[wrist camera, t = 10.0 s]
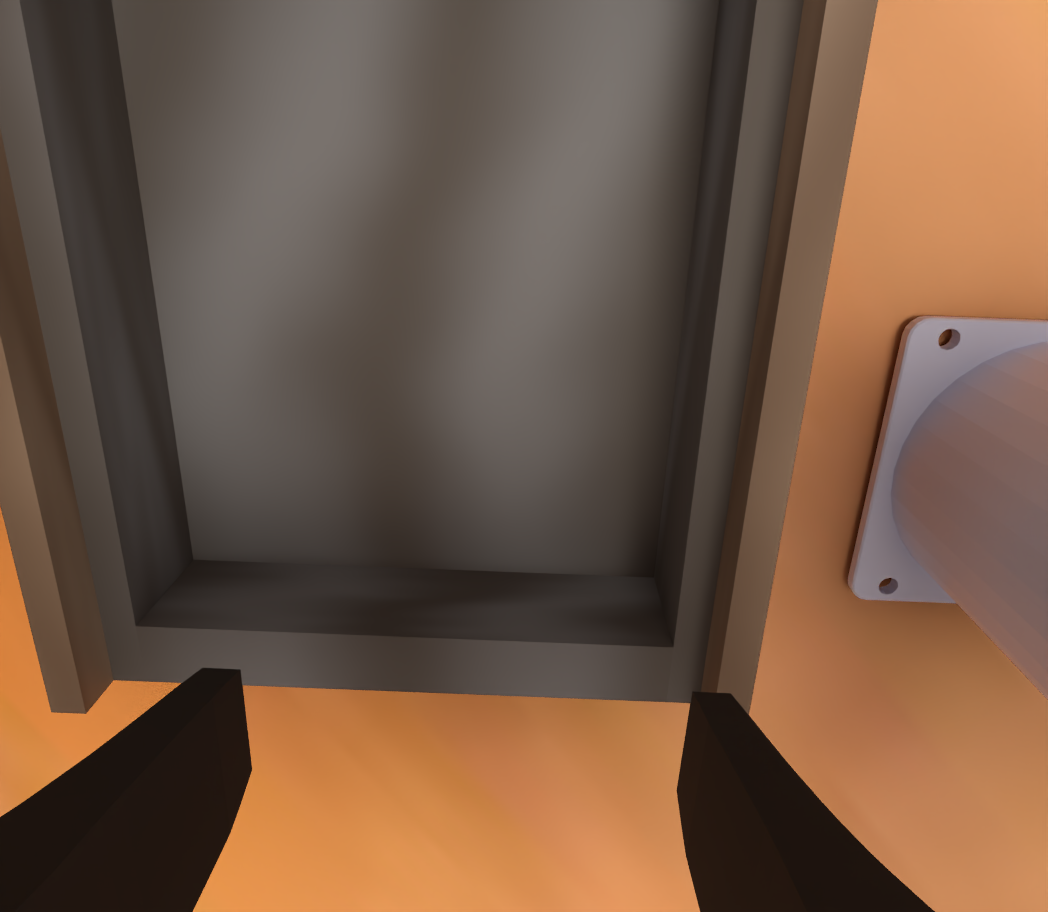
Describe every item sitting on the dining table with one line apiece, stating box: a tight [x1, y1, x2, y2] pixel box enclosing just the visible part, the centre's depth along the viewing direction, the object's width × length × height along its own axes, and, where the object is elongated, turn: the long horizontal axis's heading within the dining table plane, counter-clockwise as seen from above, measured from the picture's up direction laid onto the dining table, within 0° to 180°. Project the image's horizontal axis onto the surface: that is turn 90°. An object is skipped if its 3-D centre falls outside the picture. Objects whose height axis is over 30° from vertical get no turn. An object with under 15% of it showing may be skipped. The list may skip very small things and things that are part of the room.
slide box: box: [0, 0, 878, 715], centre depth 16 cm, size 16×18×5 cm
